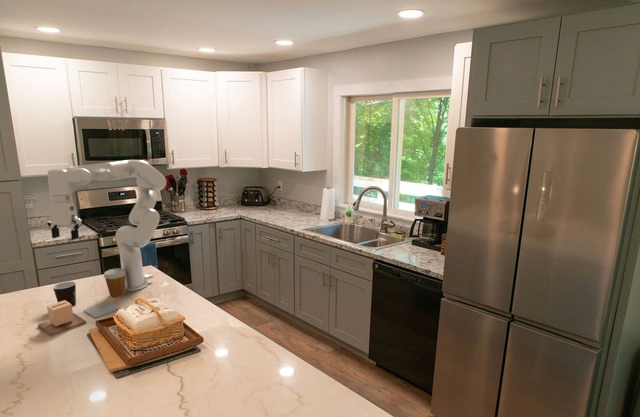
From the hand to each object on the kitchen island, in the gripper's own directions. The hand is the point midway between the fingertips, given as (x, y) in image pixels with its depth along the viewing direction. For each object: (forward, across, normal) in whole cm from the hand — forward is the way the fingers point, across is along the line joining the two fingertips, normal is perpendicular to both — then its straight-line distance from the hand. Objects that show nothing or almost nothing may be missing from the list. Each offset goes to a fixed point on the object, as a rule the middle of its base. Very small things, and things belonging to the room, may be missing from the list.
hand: (65, 238), depth 168 cm
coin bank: (+32, -6, +12) cm, 34 cm away
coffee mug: (+33, +7, -6) cm, 35 cm away
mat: (+33, -12, -3) cm, 35 cm away
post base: (+34, -6, +12) cm, 36 cm away
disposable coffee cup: (+33, -8, -18) cm, 38 cm away
